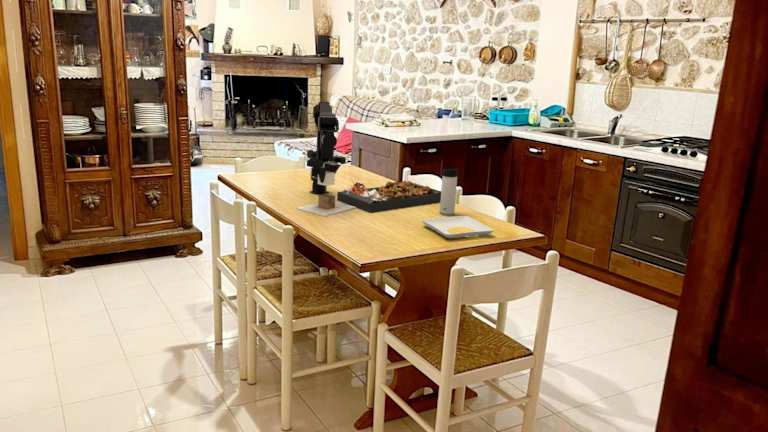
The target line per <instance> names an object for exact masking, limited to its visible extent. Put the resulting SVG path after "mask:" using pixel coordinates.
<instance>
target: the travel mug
mask: <svg viewBox="0 0 768 432" xmlns="http://www.w3.org/2000/svg"><path fill="white" fill-rule="evenodd" d="M458 171H459V170H458V169H457V168H447V169H445V168H444V169H442V179H441V190H440V191H441V201H440V203H439V205H440V206H439V214H440V215H441V214H442V215H441V216H444V215H453V216H454V215H455V207H456V198H457V197H456V196H457V184H458Z"/></svg>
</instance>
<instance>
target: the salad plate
mask: <svg viewBox="0 0 768 432" xmlns="http://www.w3.org/2000/svg"><path fill="white" fill-rule="evenodd" d="M421 222H422V224H423V225H425V226H426V227H427V228H429V229H430V230H433V231H434V230H435V231H434V232H436V233H438V234H439V233H440V234H439V235H441V236H442V237H445V238H447V239H458V238H457V237H465V236H476V235H483V236H486V235H490V234H491V233H493V232H494V229H493V228H492V227H489V226H487V225H485V224H484V223H482V222H480V221H479V220H476V219H474V218H473V217H470V216H468V215H458V216H457V215H456V216H454V215H453V216H441V217H433V218H432V217H431V218H424V219H423V218H422V219H421ZM453 227H465V228H470V229H471V230H473V229H474V230H475V231H476V232H465V233H457V234H451V233H449V232H448V231H447V230H448V228H450V229H451V228H453ZM476 237H477V236H476ZM465 238H466V237H465Z"/></svg>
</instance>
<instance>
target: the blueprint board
mask: <svg viewBox="0 0 768 432" xmlns="http://www.w3.org/2000/svg"><path fill="white" fill-rule="evenodd" d="M354 209H355V210H356V209H357V208H356V207H354V206H350V205H348V204H345V203H343V202H339V201H338V202H337V201H335V207H334V208H330V209H324V208H320V207H318V202H315V203H310V204H306V205H302V206H298V207H296V210H297V211H301V212H306V213H309V214H314V215H317V216H321V217H325V218H326V217H329V216H333V215H336V214H341V213H344V212H347V211H352V210H354Z"/></svg>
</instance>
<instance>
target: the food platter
mask: <svg viewBox="0 0 768 432" xmlns="http://www.w3.org/2000/svg"><path fill="white" fill-rule="evenodd" d="M351 181H352V183H353V184H352V186H349V187H350V188H347V190H346V189H343V190H342V191H337V192H336V193H337V195H336V200H337V201H338V202H339V203H342V204H346V205H350V206H354V207H356V208H355V209H359V210H361V211H364V212H367V213H369V214H373V213H379V212H380V211H381V212H385V211H392V210H393V209H394V210H399V208H401V209H406V207H407V208H411V207H412V208H413V206H414V207H420V206H425V205H426V204H427V205H433V204H432V203H434V204H440V203H439V202H440V201H441V190H438V189H434V188H432V187H430V186H429V185H425V186H424V185H421V184H419V183H415V182H413V181H411V180H408V181H407V180H404V181H399V180H395V181H394V182H393V181H387V183H385V185H382V186H375V187H369V188H368V187H366V184H365V185H364V183H360V182H359V181H357V182H353V179H351ZM337 201H336V202H337ZM419 205H420V206H419ZM427 205H426V206H427Z"/></svg>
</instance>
